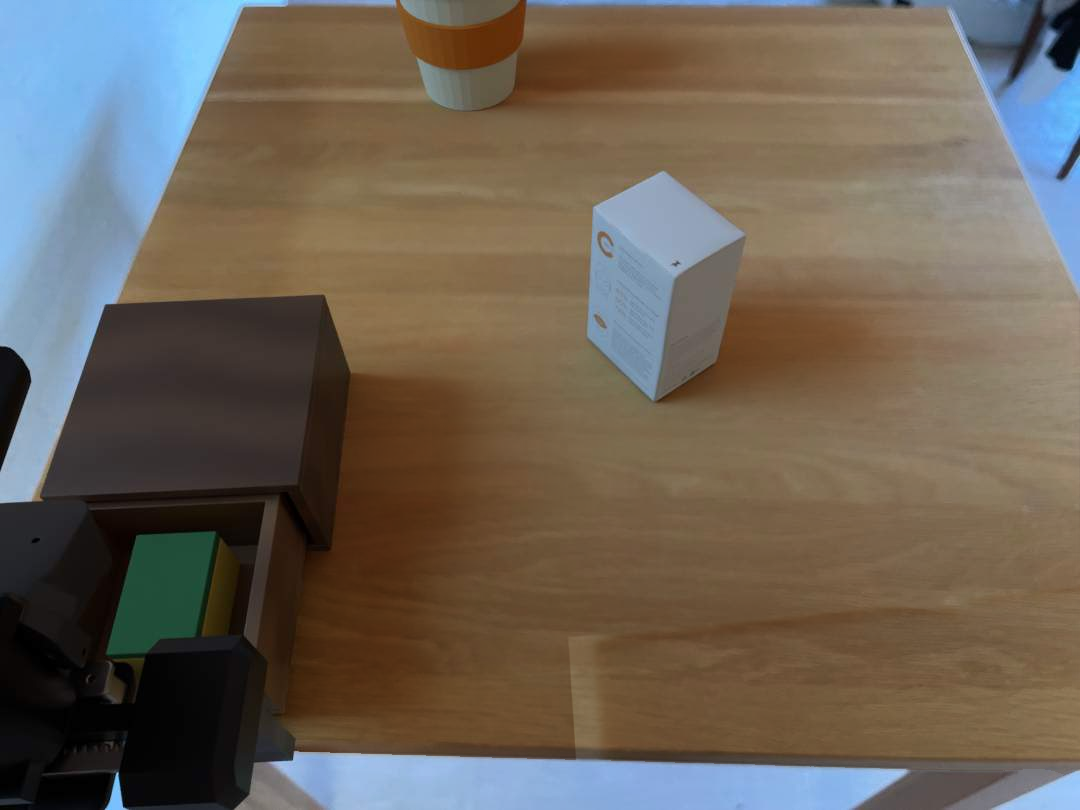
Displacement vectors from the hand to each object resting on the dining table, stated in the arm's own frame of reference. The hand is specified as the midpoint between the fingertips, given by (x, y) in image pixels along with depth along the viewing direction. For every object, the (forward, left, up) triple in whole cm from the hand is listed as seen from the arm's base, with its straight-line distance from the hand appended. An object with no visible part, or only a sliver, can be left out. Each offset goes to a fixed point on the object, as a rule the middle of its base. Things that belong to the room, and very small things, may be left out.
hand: (105, 775), depth 39 cm
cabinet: (+21, +7, -8) cm, 24 cm away
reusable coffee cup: (+67, +5, -8) cm, 68 cm away
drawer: (+6, +2, -7) cm, 9 cm away
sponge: (+9, +3, -6) cm, 12 cm away
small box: (+38, -19, -8) cm, 43 cm away
